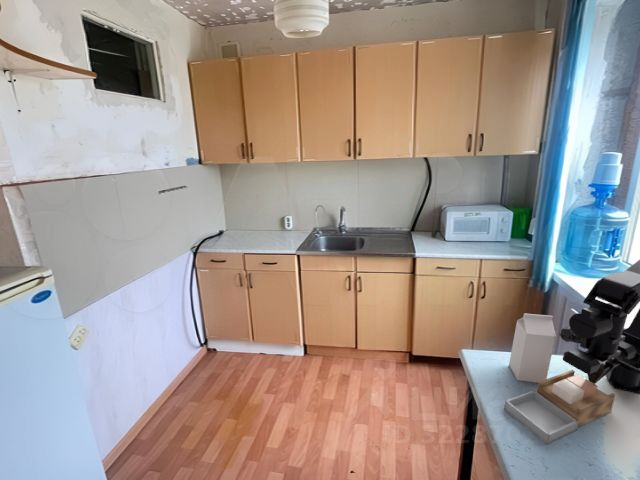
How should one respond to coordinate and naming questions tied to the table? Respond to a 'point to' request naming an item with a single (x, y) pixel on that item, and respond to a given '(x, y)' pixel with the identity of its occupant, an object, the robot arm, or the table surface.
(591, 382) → the tile
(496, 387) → the table surface
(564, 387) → the tile
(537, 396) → the tray
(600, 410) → the wooden box
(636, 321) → the robot arm
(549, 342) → the milk carton
